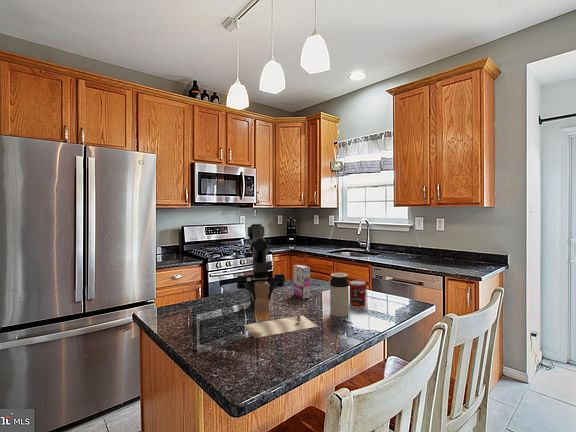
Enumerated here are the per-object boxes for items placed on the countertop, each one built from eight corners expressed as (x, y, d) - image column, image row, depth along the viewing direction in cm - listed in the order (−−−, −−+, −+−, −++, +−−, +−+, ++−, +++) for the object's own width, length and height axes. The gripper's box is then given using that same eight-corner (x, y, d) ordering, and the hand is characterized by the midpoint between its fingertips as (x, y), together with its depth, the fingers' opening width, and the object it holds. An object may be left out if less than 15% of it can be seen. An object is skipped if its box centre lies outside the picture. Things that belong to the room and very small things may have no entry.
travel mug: (348, 318, 135) (348, 276, 135) (329, 317, 137) (329, 276, 137) (348, 312, 143) (348, 272, 143) (331, 311, 145) (330, 272, 145)
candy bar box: (311, 298, 167) (310, 267, 166) (302, 299, 165) (302, 268, 164) (301, 293, 177) (301, 264, 177) (293, 294, 175) (293, 264, 174)
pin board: (254, 342, 112) (254, 328, 112) (243, 328, 125) (243, 316, 125) (318, 329, 123) (318, 317, 123) (302, 318, 135) (302, 307, 135)
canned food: (347, 305, 153) (347, 283, 153) (352, 301, 160) (352, 280, 160) (363, 308, 149) (363, 284, 149) (367, 303, 156) (367, 281, 156)
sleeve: (252, 317, 119) (252, 283, 119) (259, 313, 124) (259, 280, 123) (264, 319, 117) (263, 284, 117) (270, 315, 121) (270, 281, 121)
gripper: (236, 255, 122) (236, 290, 112) (284, 253, 125) (288, 288, 114) (237, 271, 130) (237, 305, 120) (281, 269, 133) (285, 303, 122)
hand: (261, 300), depth 119 cm, fingers closed on sleeve, 5 cm apart
